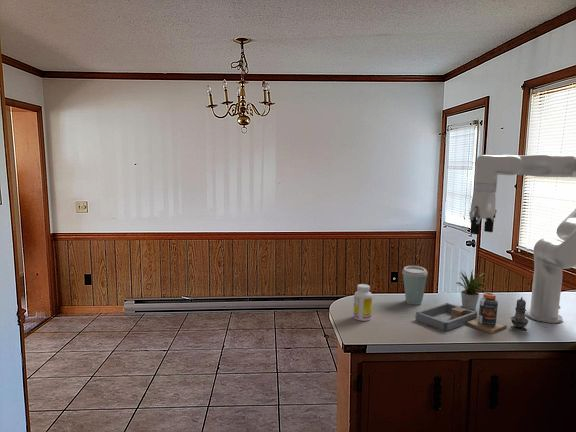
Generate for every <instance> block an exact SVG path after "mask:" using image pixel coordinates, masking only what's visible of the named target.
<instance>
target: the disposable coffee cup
mask: <svg viewBox="0 0 576 432" xmlns="http://www.w3.org/2000/svg"><path fill="white" fill-rule="evenodd" d="M401 274H402V277H403V278H402V279H403V287H404V296H405V301H406V303H408V304H410V305H414V306H415V305H416V306H419V305H421V304H422V302H423V298H424V294H425V290H426V289H425V287H426V284H427V280H428V279H427V278H428V274H429V273H428V271H427V269H426V268H425V267H422V266H419V265H406V266H404V267H403V269H402V271H401Z"/></svg>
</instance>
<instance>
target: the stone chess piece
mask: <svg viewBox="0 0 576 432" xmlns="http://www.w3.org/2000/svg"><path fill="white" fill-rule="evenodd" d="M526 303H527V302H526V300H525V299H524V298H523V296H521V298H520V299H517V300H516V307H514V309H515V314H514V316H510V320H511V324H512V325H511V326H510V329H511V330H513V331H515V332H516V331H517V332H521V331H525V332H527V331H528V329H527V328H526V326H527V325H528V323H529V322H530V321H529V319H527V318H526V314H525V312H526V311H527V309H526V306H527V304H526Z"/></svg>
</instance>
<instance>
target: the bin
mask: <svg viewBox="0 0 576 432" xmlns="http://www.w3.org/2000/svg"><path fill="white" fill-rule="evenodd" d="M455 307H460V308H463V309H466V308H464V307H461V306H458V305H455V304H451V303H450V302H445V303H443V304H438V305H435V306H432V307H429V308H426V309H423V310H420V311H416V312H415V321H418V322H420V323H422V324H425V325H427V326H428V325H429V326H430V327H434V328H436V329H439V330H441V331H444V332H448V331H450V330H453V329H456V328H459V327H462V326H464V325H466V322H468V321H471V320H473V319H476V318H478V312H477V311H474V310H472V309H466V310H467V314H466V315H464V316H461V317H458V318H455V319H449V320H447V321H445V320H441V319H439V318H436V317H434V316H437V315H439V314H442V313H446V312H449V313H451V309H452V308H455Z"/></svg>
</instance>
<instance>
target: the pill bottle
mask: <svg viewBox="0 0 576 432" xmlns="http://www.w3.org/2000/svg"><path fill="white" fill-rule="evenodd" d="M482 296H483V297H482V298H480V301H479V310H478V318H479V319H478V322H479V323H480V324H482V325H486V326H494V325H496V322H497V315H498V309H499V308H498V306H499V302H498V300H496V298H497V297H496V294H495V293H492V292H484V293H483V295H482Z"/></svg>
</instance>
